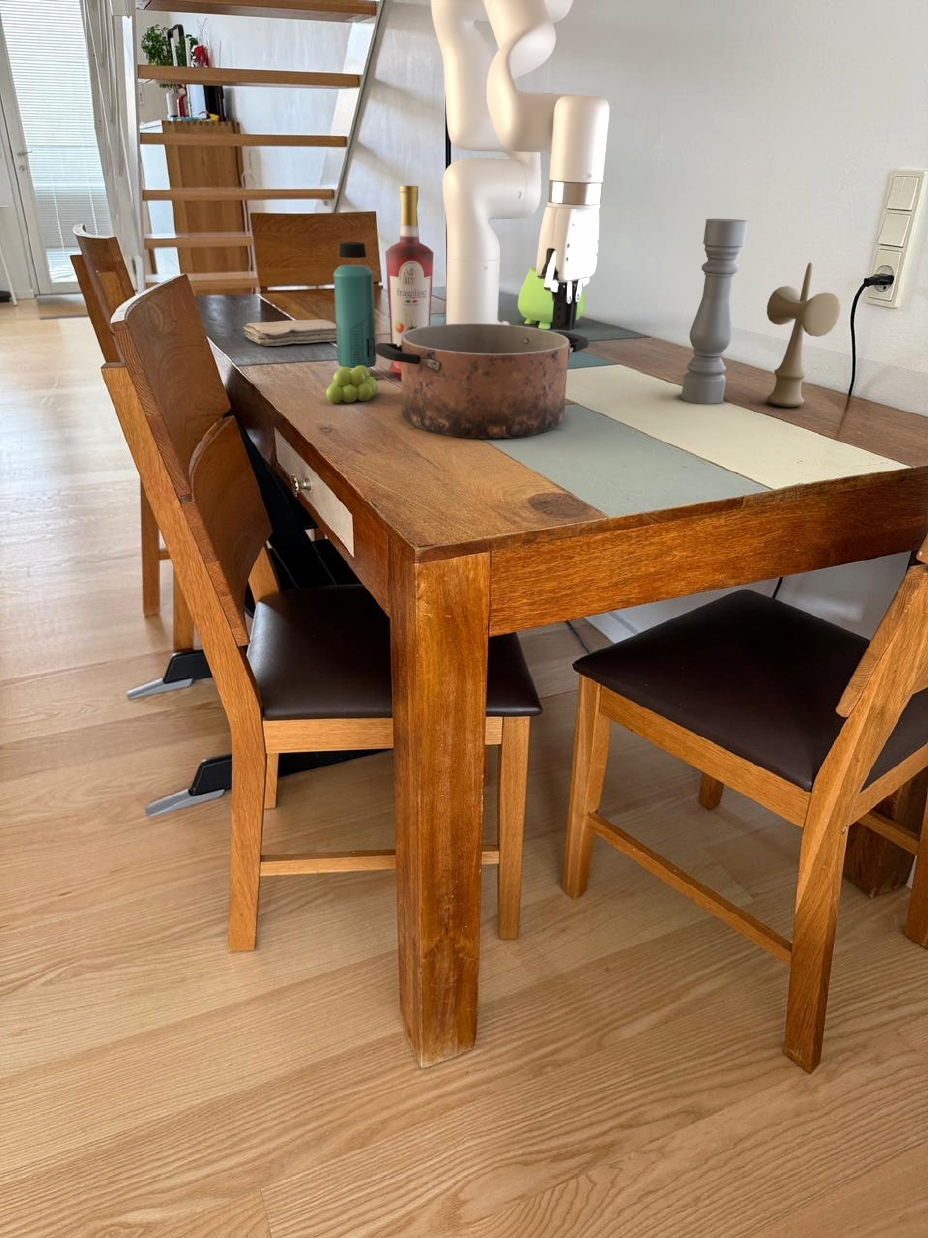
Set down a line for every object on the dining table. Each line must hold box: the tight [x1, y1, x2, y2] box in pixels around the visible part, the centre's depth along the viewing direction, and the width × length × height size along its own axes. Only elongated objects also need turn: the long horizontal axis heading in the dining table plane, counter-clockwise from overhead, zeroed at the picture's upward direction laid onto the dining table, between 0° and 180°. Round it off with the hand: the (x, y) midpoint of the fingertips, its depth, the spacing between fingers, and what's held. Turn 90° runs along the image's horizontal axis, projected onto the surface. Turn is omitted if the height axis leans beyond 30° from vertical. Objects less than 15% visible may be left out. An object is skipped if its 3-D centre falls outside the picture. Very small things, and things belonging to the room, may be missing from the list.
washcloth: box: [243, 319, 337, 347], centre depth 175 cm, size 12×18×3 cm, turn 119°
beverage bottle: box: [332, 241, 378, 369], centre depth 145 cm, size 6×7×20 cm
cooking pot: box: [375, 323, 589, 440], centre depth 125 cm, size 30×22×11 cm
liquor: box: [385, 185, 434, 380], centre depth 142 cm, size 7×7×28 cm
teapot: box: [517, 267, 586, 330], centre depth 194 cm, size 20×13×13 cm
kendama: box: [766, 262, 841, 408], centre depth 133 cm, size 6×10×20 cm, turn 20°
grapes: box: [325, 365, 385, 404], centre depth 135 cm, size 12×7×4 cm, turn 143°
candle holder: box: [680, 218, 749, 405], centre depth 134 cm, size 6×6×25 cm
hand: (563, 328), depth 139 cm, fingers closed
